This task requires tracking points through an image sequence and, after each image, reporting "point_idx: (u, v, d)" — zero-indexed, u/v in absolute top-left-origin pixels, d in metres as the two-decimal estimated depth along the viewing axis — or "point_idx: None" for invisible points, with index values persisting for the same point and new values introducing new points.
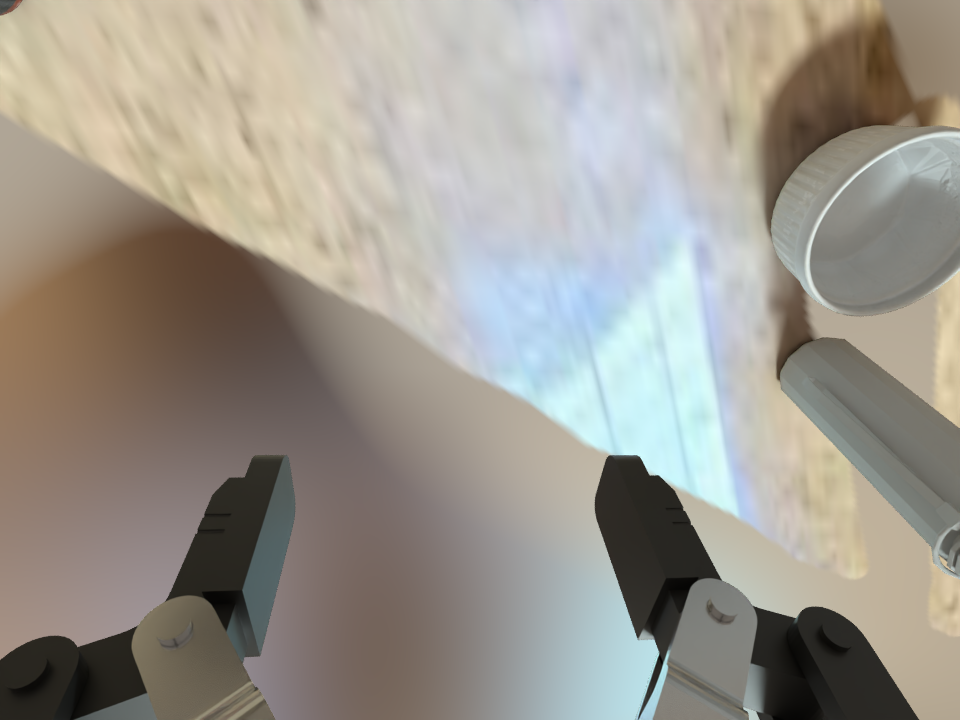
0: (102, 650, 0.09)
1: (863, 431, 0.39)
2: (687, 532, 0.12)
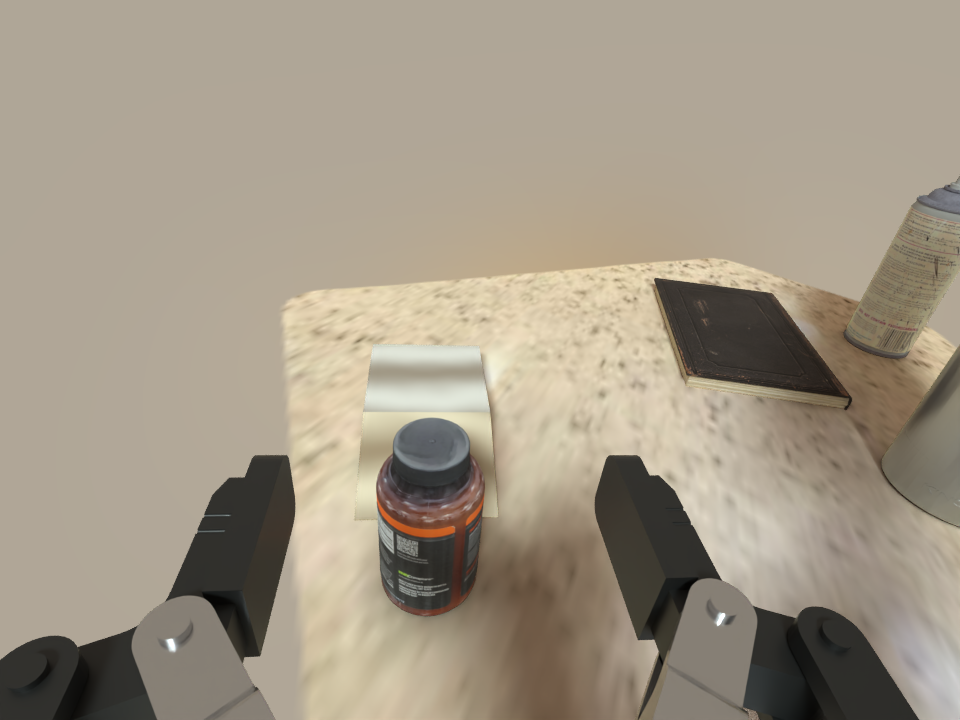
0: (101, 650, 0.09)
1: None
2: (687, 532, 0.12)
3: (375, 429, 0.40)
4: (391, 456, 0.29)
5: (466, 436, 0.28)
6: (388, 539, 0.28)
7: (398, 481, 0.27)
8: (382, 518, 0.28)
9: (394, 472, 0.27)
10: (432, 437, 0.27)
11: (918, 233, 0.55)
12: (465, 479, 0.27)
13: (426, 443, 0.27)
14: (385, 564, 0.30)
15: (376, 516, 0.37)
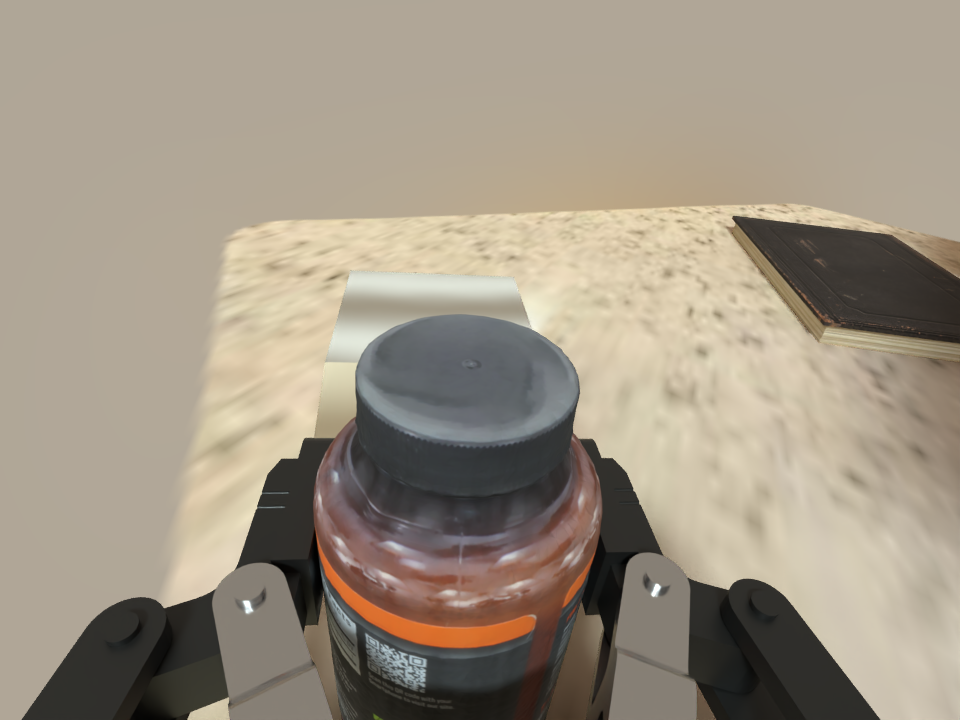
0: (181, 613, 0.09)
1: None
2: (634, 511, 0.12)
3: (345, 391, 0.23)
4: None
5: (563, 356, 0.10)
6: (344, 639, 0.10)
7: (370, 480, 0.09)
8: (327, 583, 0.10)
9: (359, 453, 0.10)
10: (470, 355, 0.10)
11: None
12: (561, 476, 0.10)
13: (455, 368, 0.09)
14: (342, 687, 0.12)
15: None
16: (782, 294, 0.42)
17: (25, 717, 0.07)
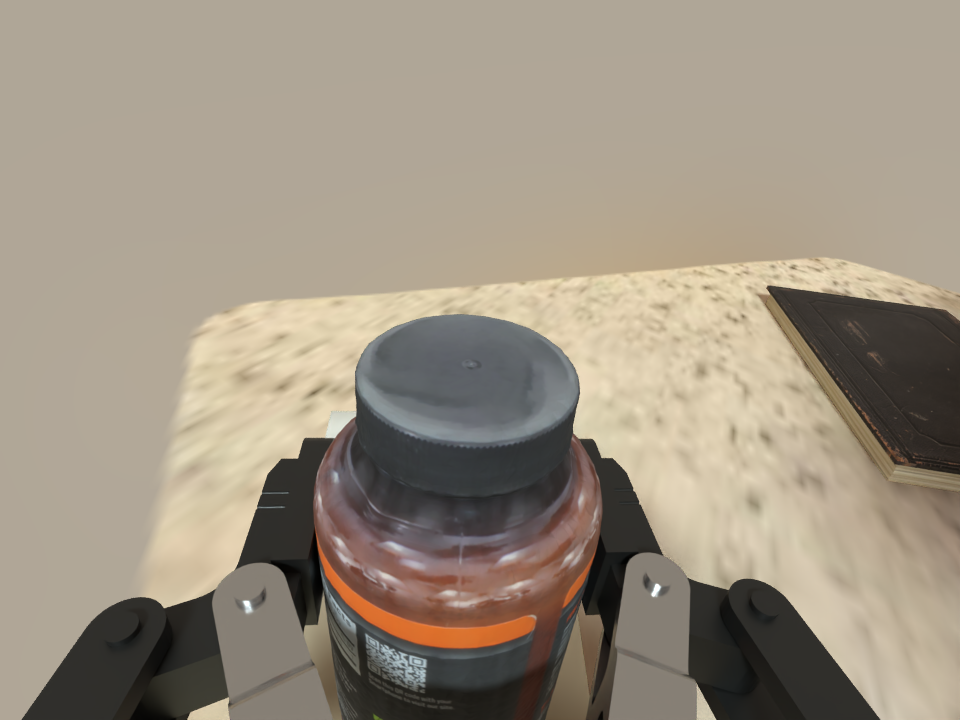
0: (182, 613, 0.09)
1: None
2: (634, 511, 0.12)
3: (313, 647, 0.17)
4: None
5: (563, 356, 0.10)
6: (344, 640, 0.10)
7: (370, 480, 0.09)
8: (327, 583, 0.10)
9: (359, 454, 0.10)
10: (470, 355, 0.10)
11: None
12: (561, 476, 0.10)
13: (455, 368, 0.09)
14: (342, 688, 0.12)
15: None
16: (834, 400, 0.36)
17: (25, 717, 0.07)
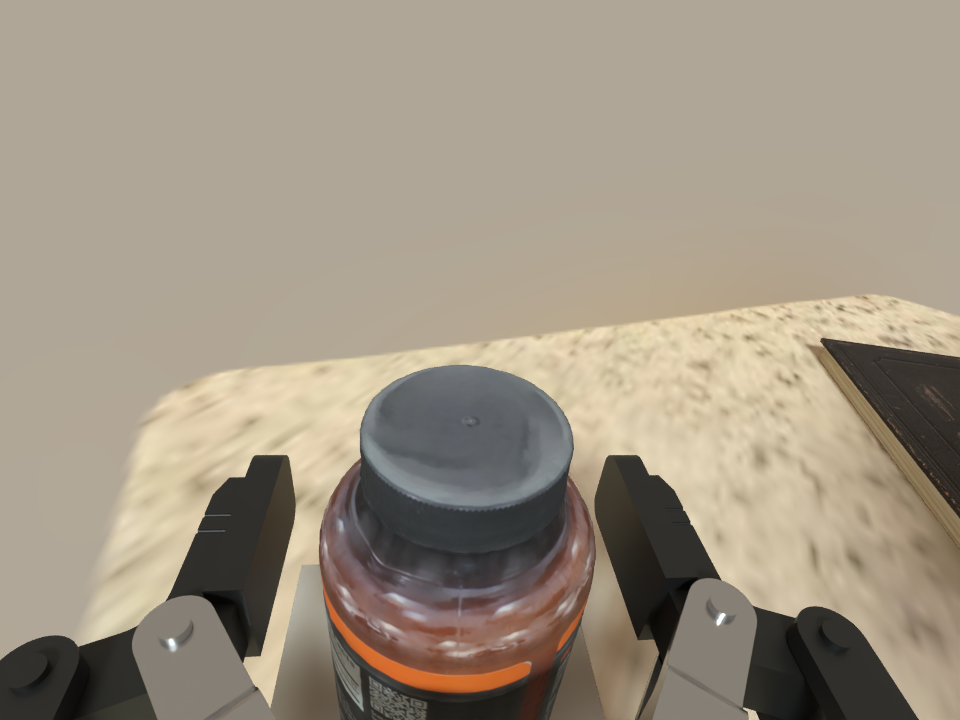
0: (102, 650, 0.09)
1: None
2: (687, 532, 0.12)
3: None
4: None
5: (558, 410, 0.10)
6: (349, 678, 0.11)
7: (374, 533, 0.10)
8: (332, 625, 0.10)
9: (364, 505, 0.10)
10: (469, 411, 0.10)
11: None
12: (556, 526, 0.10)
13: (455, 425, 0.10)
14: (346, 719, 0.12)
15: None
16: (926, 499, 0.29)
17: None
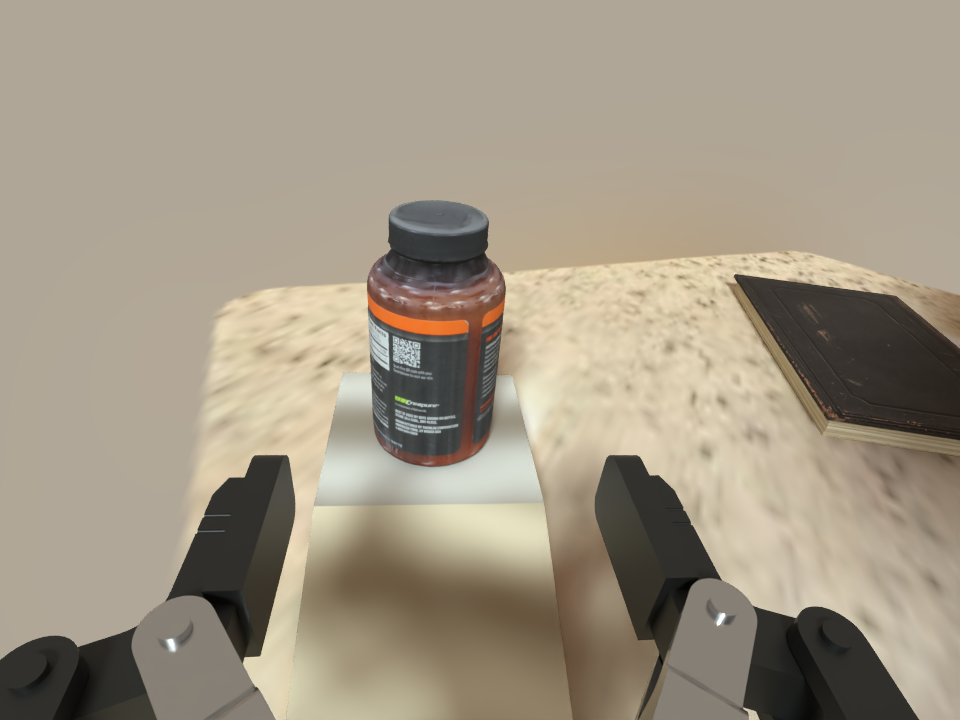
0: (101, 651, 0.09)
1: None
2: (687, 532, 0.12)
3: (334, 542, 0.22)
4: None
5: (483, 214, 0.21)
6: (382, 350, 0.22)
7: (395, 264, 0.21)
8: (374, 320, 0.22)
9: (390, 256, 0.21)
10: (439, 211, 0.21)
11: None
12: (481, 266, 0.21)
13: (432, 215, 0.21)
14: (378, 395, 0.24)
15: None
16: (784, 371, 0.41)
17: None
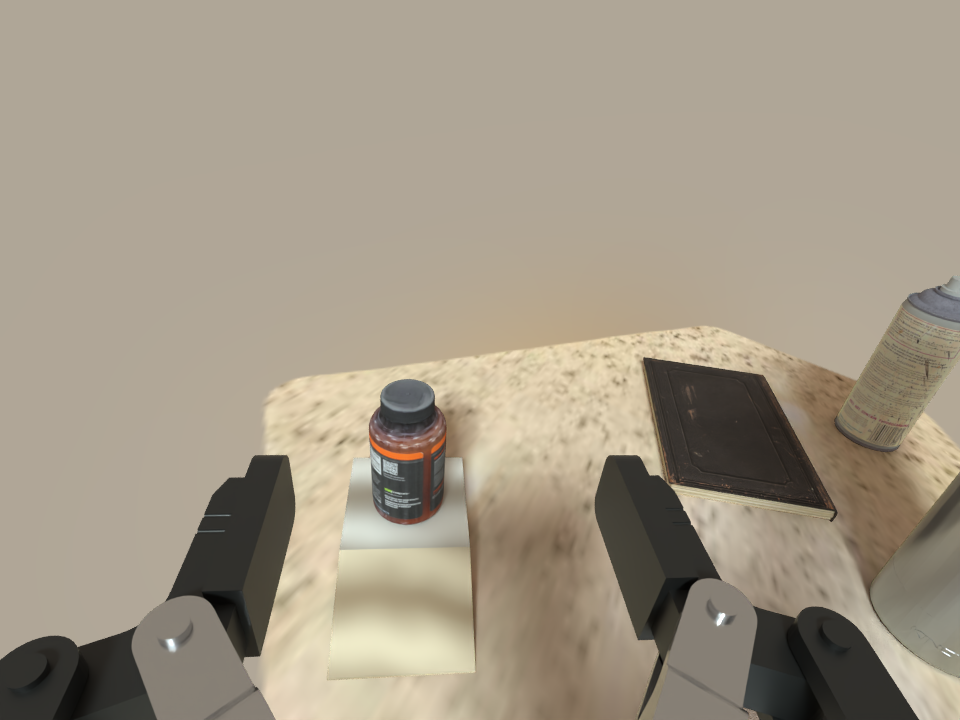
0: (101, 650, 0.09)
1: None
2: (687, 532, 0.12)
3: (351, 570, 0.39)
4: (380, 407, 0.41)
5: (432, 391, 0.39)
6: (377, 464, 0.40)
7: (384, 421, 0.39)
8: (373, 448, 0.39)
9: (381, 415, 0.39)
10: (408, 391, 0.39)
11: (908, 334, 0.55)
12: (430, 421, 0.39)
13: (404, 395, 0.39)
14: (375, 485, 0.41)
15: (349, 675, 0.36)
16: (659, 442, 0.58)
17: None
